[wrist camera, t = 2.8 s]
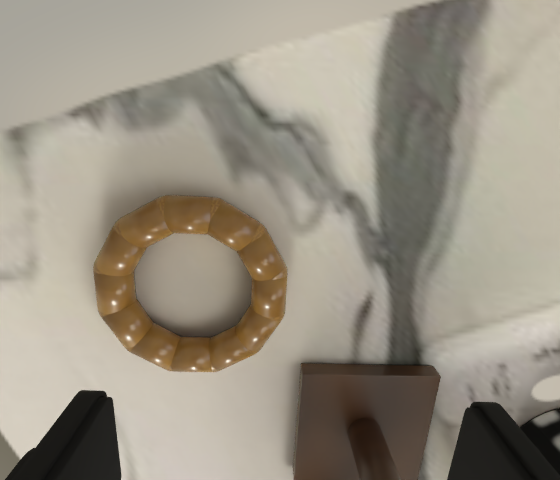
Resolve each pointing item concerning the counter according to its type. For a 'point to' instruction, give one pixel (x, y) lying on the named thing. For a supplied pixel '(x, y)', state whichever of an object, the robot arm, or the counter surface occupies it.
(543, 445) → the white-spotted black cylinder
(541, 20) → the counter surface
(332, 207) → the counter surface
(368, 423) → the stand
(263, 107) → the counter surface
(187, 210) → the ring
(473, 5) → the counter surface
